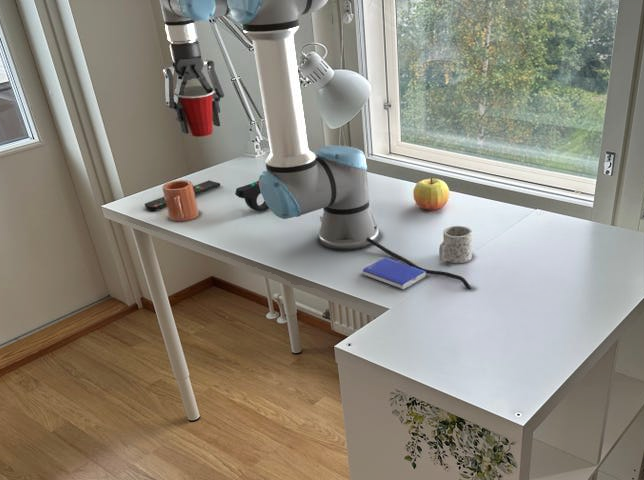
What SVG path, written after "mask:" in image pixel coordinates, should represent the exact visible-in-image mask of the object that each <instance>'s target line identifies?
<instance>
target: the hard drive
mask: <svg viewBox="0 0 644 480" xmlns="http://www.w3.org/2000/svg"><path fill="white" fill-rule="evenodd" d="M362 275H363V276H366V277H369V278H371V279H374V280H377V281H380V282H382V283H386V284H388V285H391V286H393V287H396V288H399V289H401V290H405V289H406V288H409V287H410V286H412V285H413V284H415V283H417V282H419V281H421V280H422V279H424V278H425V277H427V273H426V271H423V270H420V269H417V268H414V267H411V266H410V265H408V264H406V263H404V262H403V263H402V262H400V261H397V260H394V259H392V258H389V257H383V258H381V259H379V260H378V261H376V262H374V263H372V264H370V265H368V266H366V267H364V268H363V269H362Z"/></svg>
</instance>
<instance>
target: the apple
mask: <svg viewBox="0 0 644 480" xmlns="http://www.w3.org/2000/svg"><path fill="white" fill-rule="evenodd" d="M449 199H450V188H449V187H448V185H447V183H446V182H445V181H444V180H441V179H438V178H432V177H431V178H427V179H426V178H425V179H422V180H420V181H418V182H416V184H415V186H414V189H413V200H414V202H415V204H416V205H417V206H418V207H419V208H421V209H424V210H426V211H435V210H439V209H441V208H443V207H444V206H446V204H447V203H448V201H449Z"/></svg>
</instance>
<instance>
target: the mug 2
mask: <svg viewBox="0 0 644 480" xmlns="http://www.w3.org/2000/svg"><path fill="white" fill-rule="evenodd" d="M442 233H443V234H442V235H443V241H442V242H441V243H440V245H439V247H438V248H439V249H438V255H439V261H440V262H441V263H444V262H448V263H451V264H464V263H467V262H469V261H470V260H471V259H472V251H473V250H472V245H473V244H472V239H473V238H472V237H473V231H472V229H471V228H470V227H467V226H464V225H452V226H448V227H446V228H445V229H444V230H443V232H442Z"/></svg>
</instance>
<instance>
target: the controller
mask: <svg viewBox="0 0 644 480" xmlns="http://www.w3.org/2000/svg"><path fill="white" fill-rule="evenodd" d="M234 194H235V196H236V197H238V198H241V199H244V202H245V204H246V205H247V207H249V208H250V209H251V210H254V211H256V212H266V211H267V210H270V208H269V207H268V206H267V204H266V202H265V200H263V202H262V203H261V204H258V197H259V196H260V195H262V194H261V191H260V187H259V180H257V181H253V182H252V183H248V184H246V185H243V186H240V187H236V189H235V193H234Z"/></svg>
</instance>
